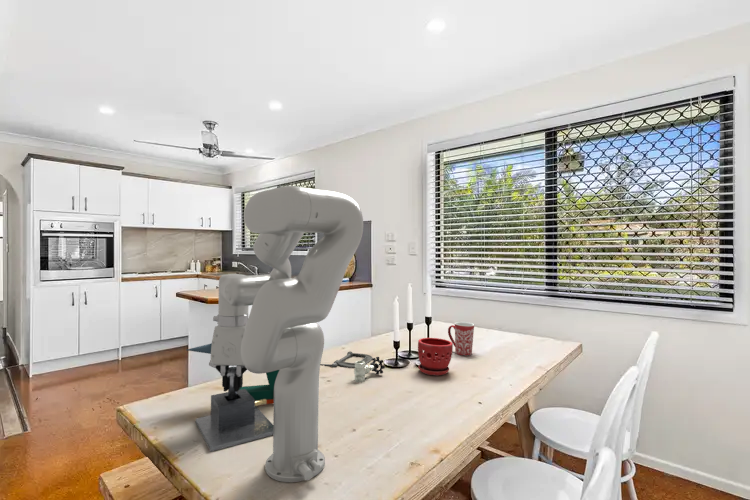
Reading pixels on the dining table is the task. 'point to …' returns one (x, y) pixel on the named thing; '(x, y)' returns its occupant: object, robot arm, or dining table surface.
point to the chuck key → (231, 382)
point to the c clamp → (350, 365)
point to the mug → (462, 337)
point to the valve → (367, 369)
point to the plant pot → (434, 355)
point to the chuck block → (234, 421)
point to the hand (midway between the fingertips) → (232, 389)
